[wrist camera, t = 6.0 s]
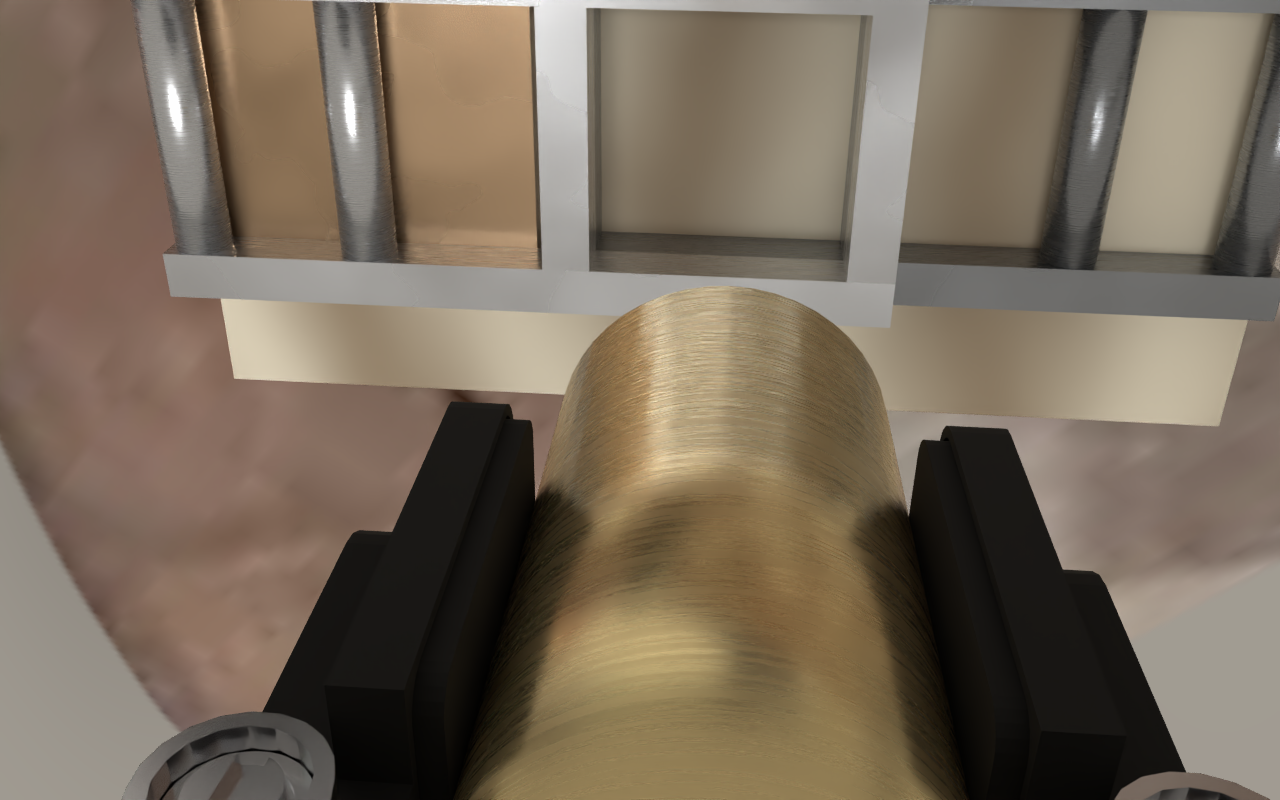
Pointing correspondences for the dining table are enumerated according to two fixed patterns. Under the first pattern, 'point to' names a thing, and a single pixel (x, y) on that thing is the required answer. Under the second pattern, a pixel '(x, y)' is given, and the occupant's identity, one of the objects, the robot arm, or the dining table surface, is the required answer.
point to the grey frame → (1068, 200)
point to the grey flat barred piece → (462, 157)
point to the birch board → (814, 194)
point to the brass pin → (717, 578)
